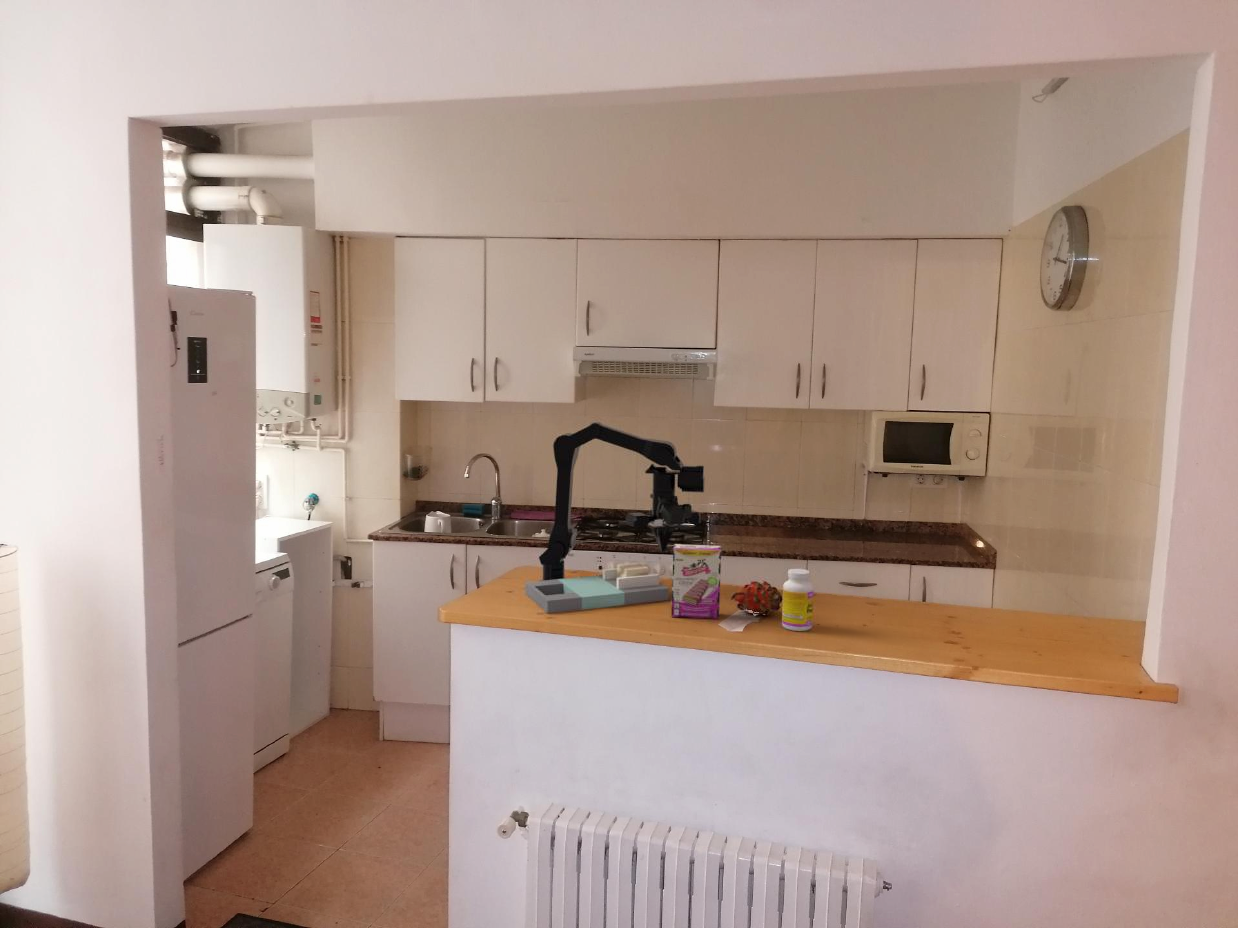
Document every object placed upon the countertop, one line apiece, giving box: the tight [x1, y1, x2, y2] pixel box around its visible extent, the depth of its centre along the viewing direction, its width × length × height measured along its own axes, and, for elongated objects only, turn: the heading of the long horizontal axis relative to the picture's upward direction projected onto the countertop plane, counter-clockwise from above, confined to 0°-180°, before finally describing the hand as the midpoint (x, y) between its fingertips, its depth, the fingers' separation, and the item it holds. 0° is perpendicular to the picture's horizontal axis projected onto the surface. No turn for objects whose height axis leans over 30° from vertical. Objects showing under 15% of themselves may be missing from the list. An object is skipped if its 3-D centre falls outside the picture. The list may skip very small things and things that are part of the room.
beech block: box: [616, 562, 649, 578], centre depth 220 cm, size 6×6×4 cm
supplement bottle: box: [781, 568, 814, 632], centre depth 193 cm, size 7×7×13 cm
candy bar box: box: [670, 543, 722, 620], centre depth 201 cm, size 11×5×16 cm, turn 84°
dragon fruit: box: [730, 580, 783, 616], centre depth 203 cm, size 8×8×12 cm
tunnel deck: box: [524, 567, 670, 614], centre depth 216 cm, size 18×32×6 cm, turn 113°
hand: (662, 551), depth 222 cm, fingers closed
